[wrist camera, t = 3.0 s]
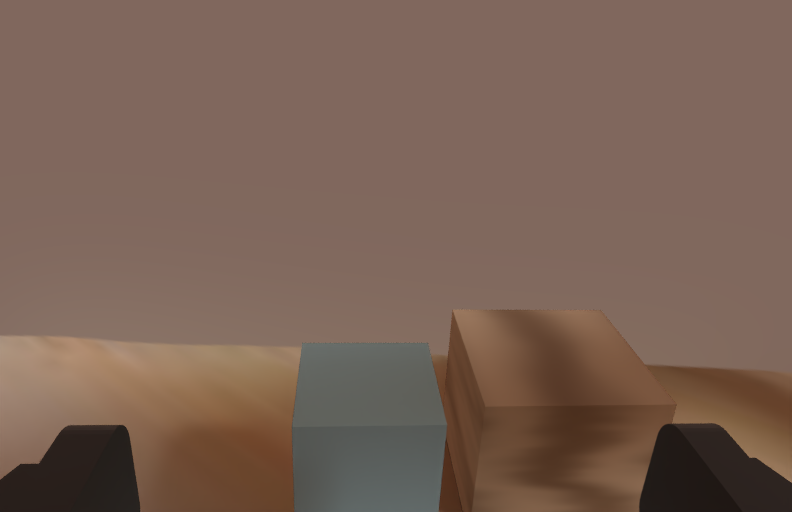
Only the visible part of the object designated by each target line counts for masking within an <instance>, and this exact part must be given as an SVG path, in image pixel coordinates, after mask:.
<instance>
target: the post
mask: <svg viewBox="0 0 792 512" xmlns="http://www.w3.org/2000/svg"><path fill="white" fill-rule="evenodd" d="M446 431H447V422H446V418H445V414H444V409H443V405H442V401H441V397H440V392H439V388H438V384H437V380H436V375H435V371H434V367H433V363H432V358H431V354H430V350H429V346H428V343H302V349H301V358H300V366H299V374H298V382H297V390H296V398H295V406H294V414H293V422H292V447H293V481H294V512H438V511H439V501H440V491H441V481H442V471H443V461H444V451H445V441H446Z"/></svg>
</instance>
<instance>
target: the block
mask: <svg viewBox="0 0 792 512" xmlns="http://www.w3.org/2000/svg"><path fill="white" fill-rule="evenodd" d="M676 406H677V404H676V403H675V402H674V400H673V399H672V398H671V397H670V395H669V394H668V393H667V392H666V390H665V389H664V388H663V387H662V385H661V384H660V383H659V382H658V380H657V379H656V378H655V377H654V375H653V374H652V373H651V372H650V371H649V369H648V368H647V367H646V366H645V364H644V363H643V362H642V361H641V360H640V358H639V357H638V356H637V354H636V353H635V352H634V351H633V349H632V348H631V347H630V346H629V345H628V343H627V342H626V341H625V339H624V338H623V337H622V336H621V335H620V333H619V332H618V331H617V330H616V328H615V327H614V326H613V325H612V323H611V322H610V321H609V320H608V319H607V317H606V316H605V315H604V313H603V312H602V311H601V310H452V321H451V331H450V342H449V352H448V363H447V373H446V384H445V394H444V405H443V409H444V414H445V418H446V422H447V431H446V439H447V444H448V448H449V453H450V457H451V462H452V466H453V470H454V475H455V479H456V484H457V488H458V492H459V497H460V501H461V506H462V510H463V512H639V502H640V496H641V492H642V489H643V485H644V482H645V478H646V474H647V471H648V467H649V464H650V460H651V456H652V453H653V449H654V445H655V442H656V438H657V435H658V432H659V430H660V429H661V427H662V426H664V425H665V424H671V423H672V420H673V416H674V413H675V409H676Z"/></svg>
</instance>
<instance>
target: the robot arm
mask: <svg viewBox="0 0 792 512" xmlns="http://www.w3.org/2000/svg"><path fill="white" fill-rule="evenodd" d="M0 512H140V502H139V496H138V489H137V482H136V476H135V469H134V463H133V456H132V450H131V443H130V437H129V433H128V430H127V428H126V427H125V426H123V425H70V426H67V427H65V428H64V429H63V430H62V431H61V432H60V433H59V434H58V436H57V437H56V439H55V440H54V442H53V443H52V445H51V446H50V448H49V449H48V451H47V452H46V454H45V455H44V457H43V458H42V460H41V461H40V463H39V464H20V465H19V466H17V467H16V468H15V469H14V470H12V471H11V472H10V473H8V474H7V475H6V476H5V477H3V478H2V479H1V480H0ZM639 512H792V483H791V482H790V481H788V480H787V479H785V478H784V477H782V476H781V475H779V474H778V473H777V472H775V471H774V470H772V469H771V468H769V467H768V466H767V465H765V464H764V463H762V462H761V461H759V460H758V459H757V458H749V457H748V456H747V454H746V453H745V452H744V451H743V450H742V449H741V448H740V446H739V445H738V444H737V443H736V442H735V441H734V440H733V438H732V437H731V436H730V435H729V434H728V433H727V431H726V430H724V429H723V428H722V427H721V426H719V425H717V424H712V423H709V424H665V425H664V426H662V427H661V429H660V430H659V432H658V435H657V438H656V442H655V445H654V449H653V453H652V456H651V460H650V464H649V467H648V471H647V474H646V478H645V482H644V485H643V489H642V492H641V496H640V502H639Z"/></svg>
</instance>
